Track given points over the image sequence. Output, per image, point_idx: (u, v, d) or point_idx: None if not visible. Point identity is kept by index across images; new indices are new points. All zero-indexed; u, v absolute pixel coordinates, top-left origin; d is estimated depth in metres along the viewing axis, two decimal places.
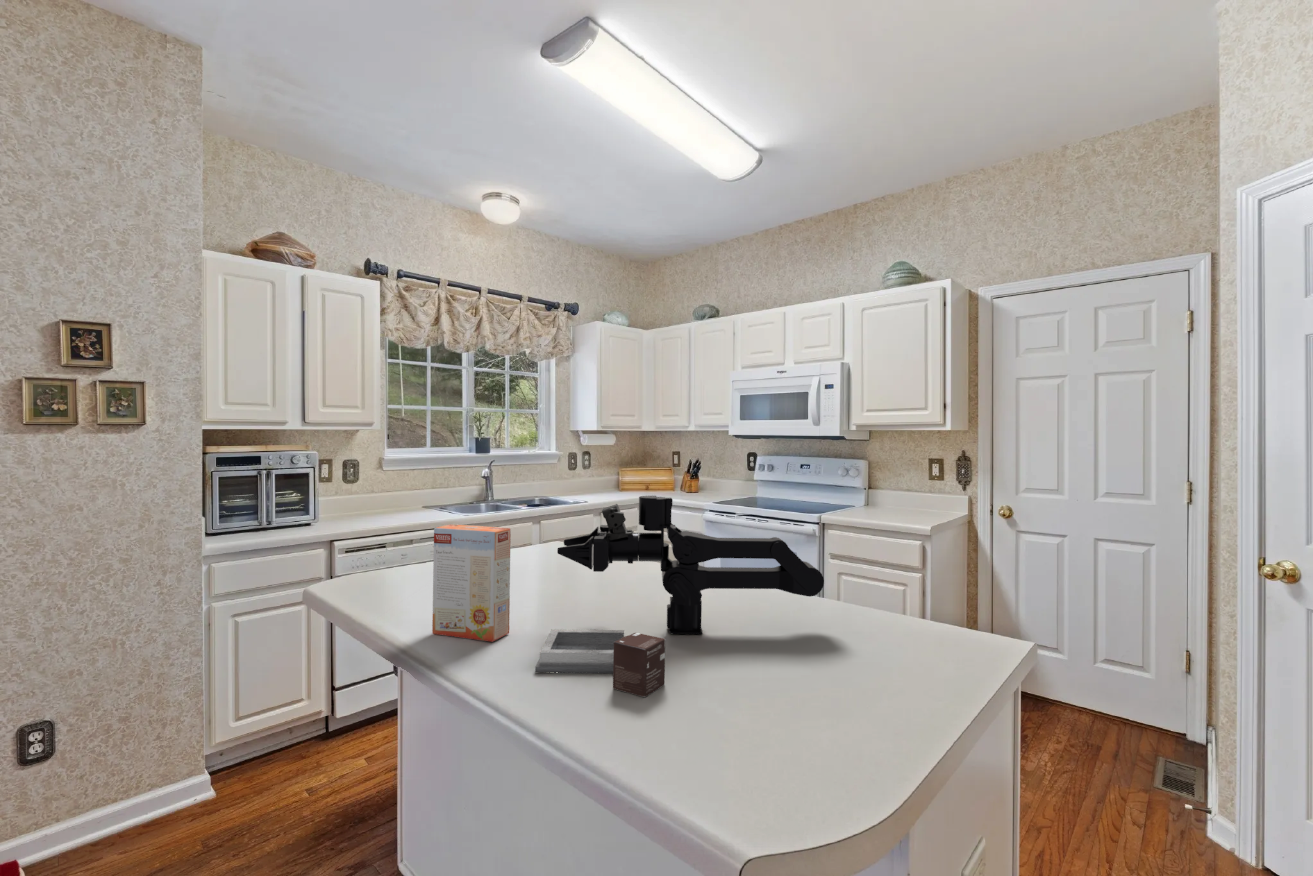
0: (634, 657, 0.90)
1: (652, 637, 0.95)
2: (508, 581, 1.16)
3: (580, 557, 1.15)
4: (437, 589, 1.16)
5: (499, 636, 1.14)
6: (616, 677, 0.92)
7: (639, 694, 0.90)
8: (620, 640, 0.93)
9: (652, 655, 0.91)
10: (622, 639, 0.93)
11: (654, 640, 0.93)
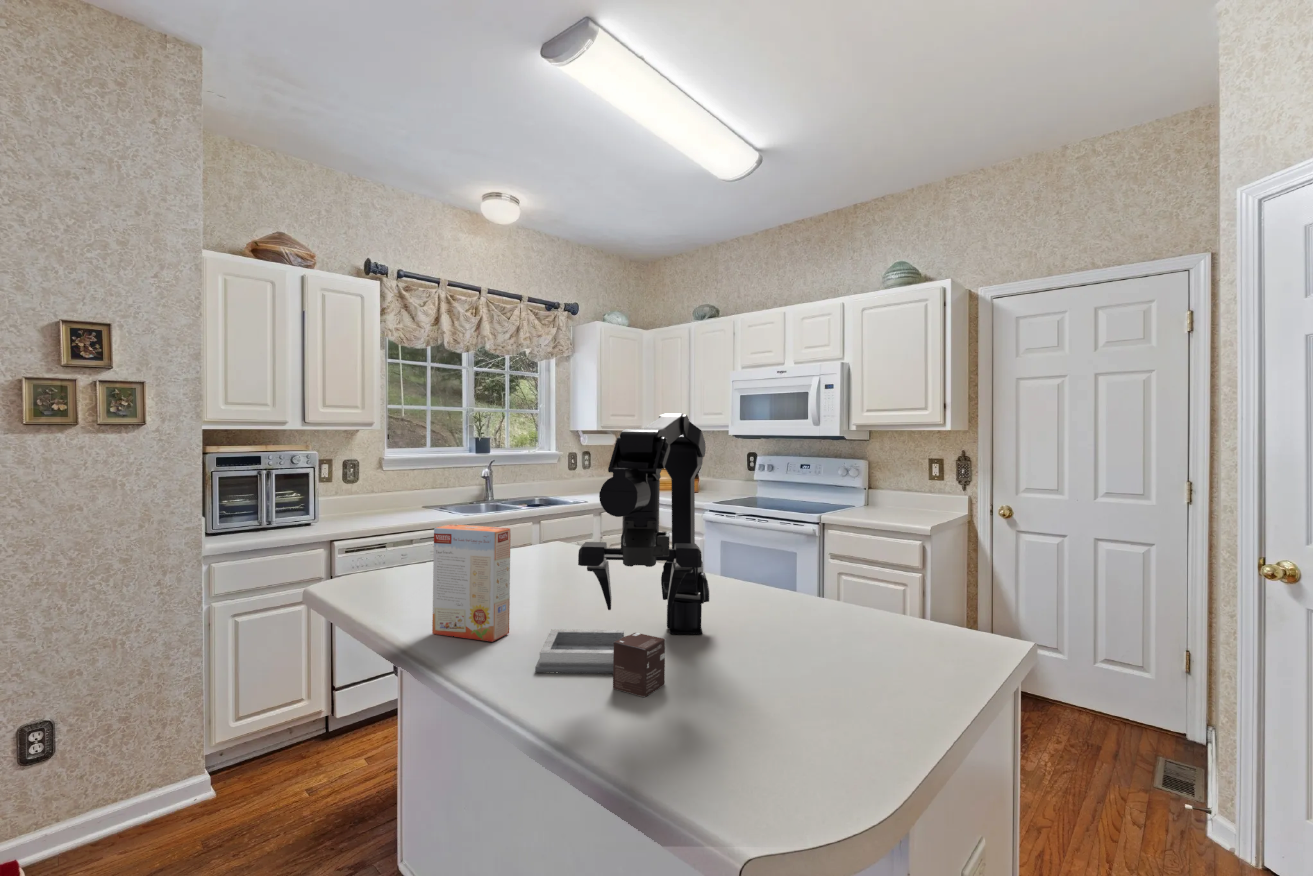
0: (634, 657, 0.90)
1: (652, 637, 0.95)
2: (508, 581, 1.16)
3: None
4: (437, 589, 1.16)
5: (499, 636, 1.14)
6: (616, 677, 0.92)
7: (639, 694, 0.90)
8: (620, 640, 0.93)
9: (652, 655, 0.91)
10: (622, 639, 0.93)
11: (654, 640, 0.93)
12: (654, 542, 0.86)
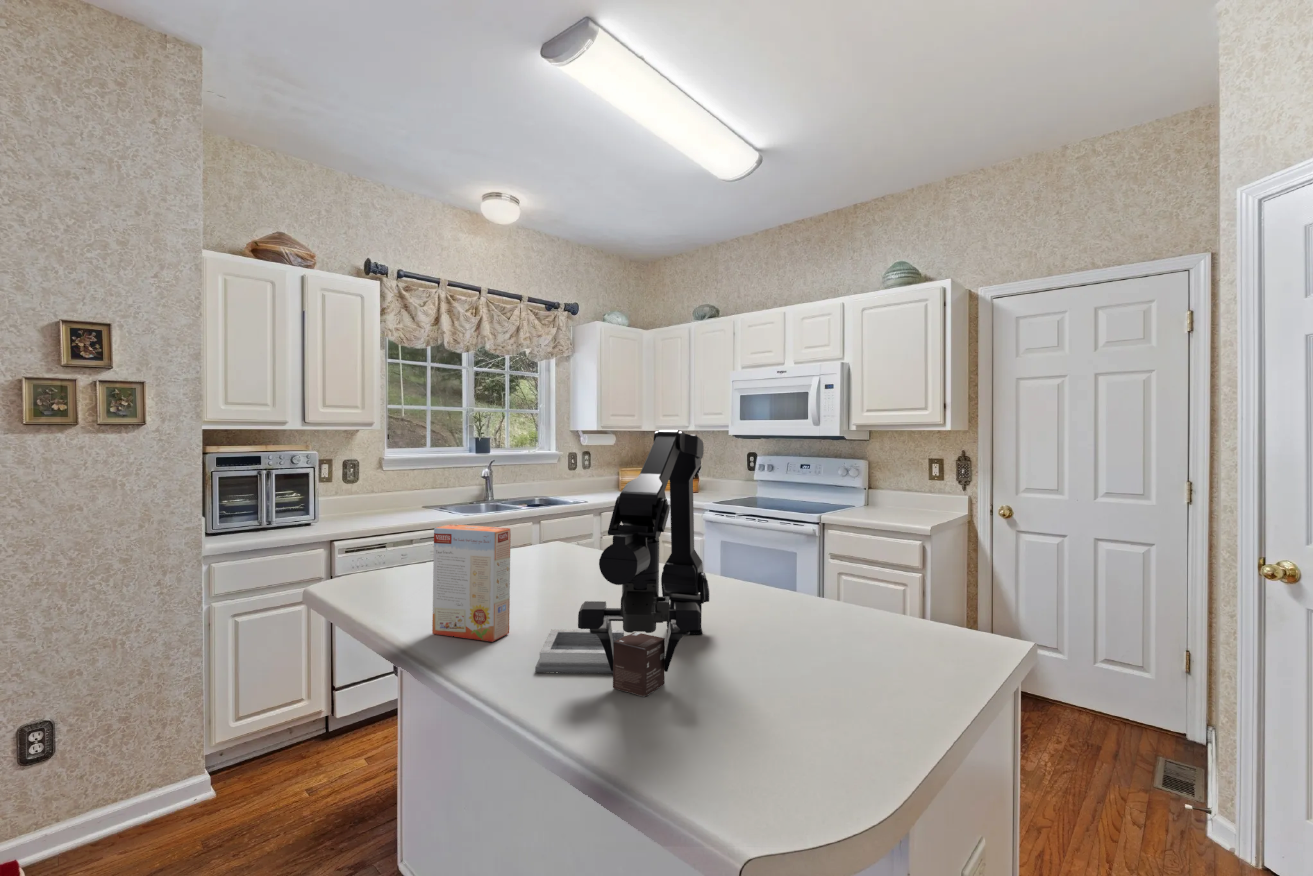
0: (634, 657, 0.90)
1: (652, 637, 0.95)
2: (508, 581, 1.16)
3: None
4: (437, 589, 1.16)
5: (499, 636, 1.14)
6: (616, 677, 0.92)
7: (639, 694, 0.90)
8: (620, 640, 0.93)
9: (652, 655, 0.91)
10: (622, 639, 0.93)
11: (654, 640, 0.93)
12: (654, 608, 0.86)
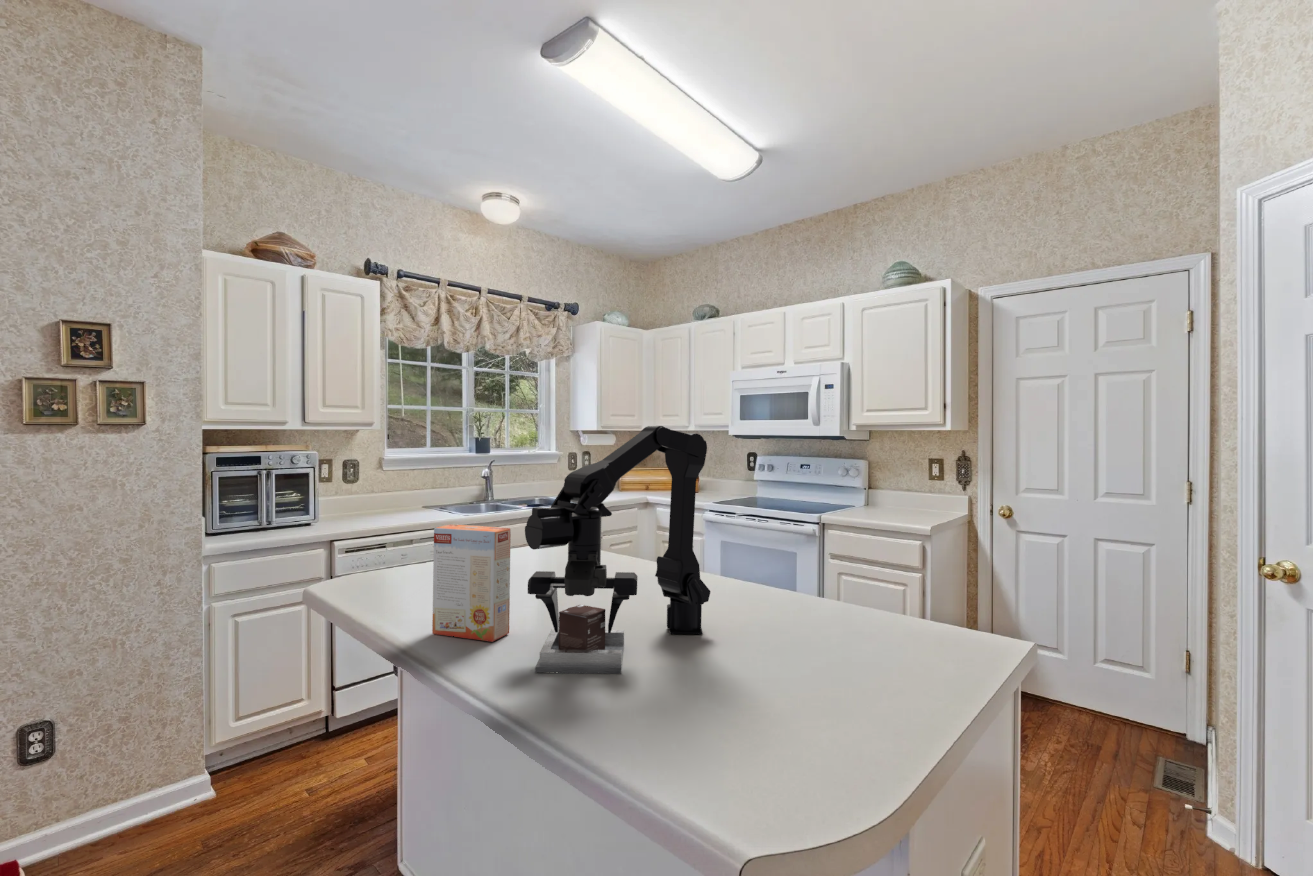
0: (577, 624, 1.02)
1: (594, 608, 1.07)
2: (508, 581, 1.16)
3: None
4: (437, 589, 1.16)
5: (499, 636, 1.14)
6: (561, 643, 1.03)
7: None
8: (565, 610, 1.04)
9: (593, 623, 1.03)
10: (567, 609, 1.05)
11: (595, 610, 1.05)
12: (592, 574, 0.98)
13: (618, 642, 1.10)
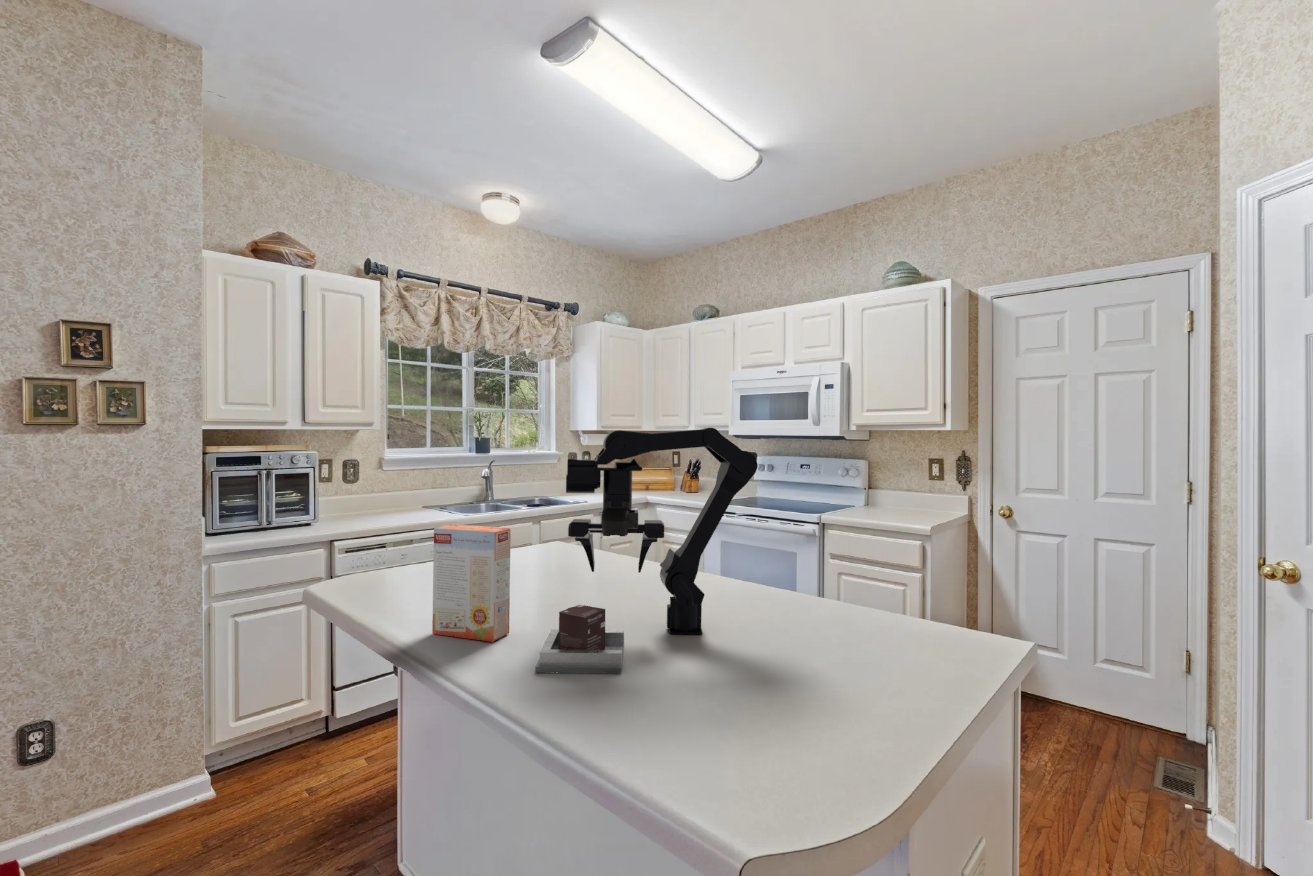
0: (577, 624, 1.02)
1: (594, 608, 1.07)
2: (508, 581, 1.16)
3: None
4: (437, 589, 1.16)
5: (499, 636, 1.14)
6: (561, 643, 1.03)
7: None
8: (565, 610, 1.04)
9: (593, 623, 1.03)
10: (567, 609, 1.05)
11: (595, 610, 1.05)
12: (626, 517, 1.12)
13: (618, 642, 1.10)
